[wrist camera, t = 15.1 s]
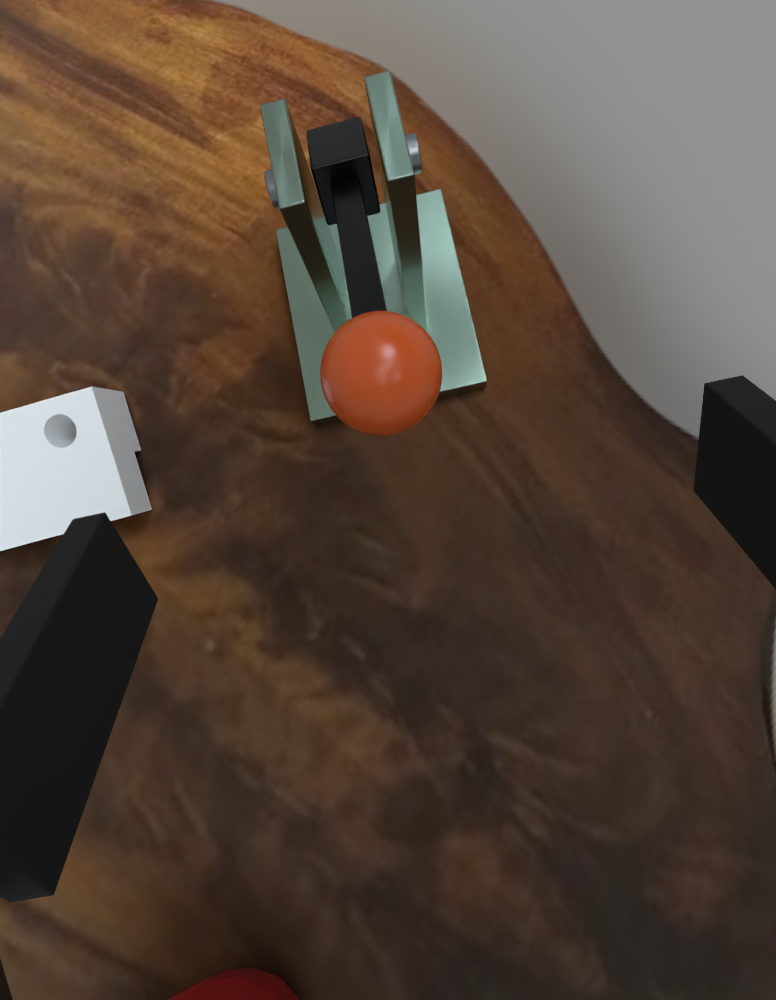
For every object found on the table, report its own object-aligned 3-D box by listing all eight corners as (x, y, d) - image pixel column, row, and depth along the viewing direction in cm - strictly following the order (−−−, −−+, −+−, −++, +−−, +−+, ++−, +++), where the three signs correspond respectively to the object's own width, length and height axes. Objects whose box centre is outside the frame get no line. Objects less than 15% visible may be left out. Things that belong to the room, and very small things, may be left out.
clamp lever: (458, 445, 18) (447, 361, 15) (342, 470, 19) (309, 392, 16) (391, 184, 26) (375, 93, 23) (309, 205, 26) (283, 118, 23)
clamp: (486, 388, 34) (508, 253, 21) (314, 426, 35) (227, 320, 21) (441, 201, 36) (435, -35, 23) (280, 241, 37) (181, 36, 23)
